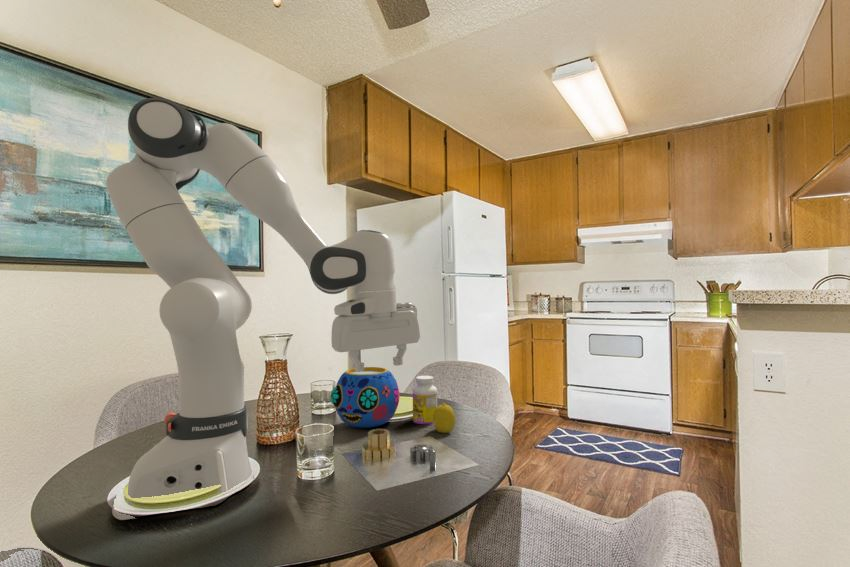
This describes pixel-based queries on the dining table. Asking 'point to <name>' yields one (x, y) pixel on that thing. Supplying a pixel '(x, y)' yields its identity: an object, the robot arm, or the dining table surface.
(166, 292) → the robot arm
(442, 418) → the lemon
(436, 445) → the plate
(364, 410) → the ceramic pot
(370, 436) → the gear
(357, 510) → the dining table surface
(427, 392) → the supplement bottle
